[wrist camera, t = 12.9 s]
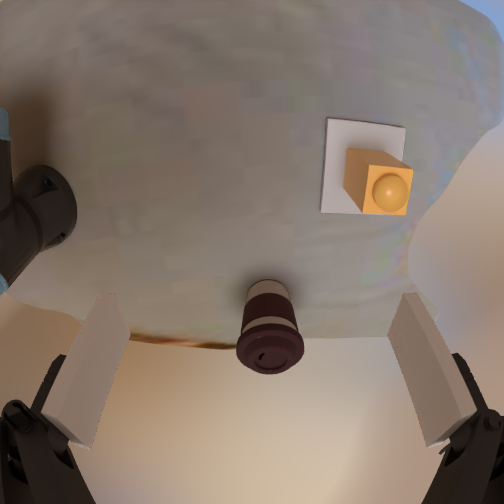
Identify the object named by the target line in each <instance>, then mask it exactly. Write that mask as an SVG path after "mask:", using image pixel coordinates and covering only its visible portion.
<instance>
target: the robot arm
mask: <svg viewBox="0 0 504 504" xmlns="http://www.w3.org/2000/svg"><path fill="white" fill-rule="evenodd" d="M10 141H11V137H10V135H9V116H8V113H7V111H6V110H5V109H3V108H0V296H1V295H2V294H3V293H4V292H6V291H7V290H8V288H9V287H10V286H11V284H12V283H13V282H14V281H15V280H16V278H17V277H18V276H19V275H20V274H21V272H22V271H23V270H24V269H25V268H26V267H27V265H28V264H29V263H30V262H31V261H32V260H33V259H34V257H35V256H36V255H37V254H38V253H39V252H42V251H44V250H47V249H49V248H52V247H54V246H57V245H59V244H60V243H62V242H63V241H64V240H65V239H66V238H67V237H68V236H69V235H70V234H71V233H72V231H73V229H74V227H75V224H76V218H77V209H76V202H75V199H74V196H73V193H72V191H71V189H70V187H69V185H68V183H67V182H66V181H65V179H64V178H63V177H62V176H61V175H60V174H59V173H58V172H57V171H55V170H54V169H52V168H50V167H47V166H43V165H38V166H33V167H31V168H29V169H27V170H26V171H24V172H22V173H21V174H20V175H19V176H18V177H17V178H16V180H15V181H14V182H13V181H12V170H11V153H10ZM387 335H388V337H389V340H390V342H391V345H392V347H393V350H394V353H395V355H396V358H397V360H398V363H399V365H400V368H401V371H402V374H403V376H404V379H405V382H406V384H407V387H408V390H409V393H410V396H411V399H412V402H413V405H414V408H415V410H416V414H417V417H418V420H419V423H420V426H421V429H422V433H423V436H424V440H425V443H426V446H427V448H429V447H432V446H435V445H439V444H442V443H443V442H444V441H445V440H446V439H447V438H449V439H450V443H449V444H448V445H446V446H445V447H444V448H443V449H442V450H441V451H440V452H439V454H440V455H441V454H442V453H443V452H444V451H445V454H444V456H443V459H442V461H441V464H440V466H439V468H438V471H437V473H436V475H435V477H434V479H433V481H432V484H431V486H430V488H429V490H428V492H427V494H426V496H425V498H424V500H423V502H422V503H421V504H504V416H500V414H499V413H498V412H496V411H495V410H491V409H488V407H487V405H486V403H485V401H484V398H483V396H482V394H481V392H480V390H479V387H478V385H477V383H476V381H475V380H474V377H473V375H472V373H471V372H470V369H469V367H468V365H467V363H466V361H465V360H464V359H463V358H462V357H461V356H460V355H459V354H458V353H455V354H451V353H450V351H449V349H448V347H447V345H446V343H445V341H444V339H443V338H442V336H441V334H440V332H439V330H438V328H437V326H436V325H435V323H434V321H433V319H432V318H431V316H430V314H429V312H428V311H427V309H426V307H425V305H424V304H423V302H422V300H421V299H420V297H419V295H418V294H417V292H414V293H403V295H402V298H401V301H400V304H399V306H398V309H397V312H396V314H395V317H394V319H393V322H392V324H391V327H390V329H389V332H388V334H387ZM129 338H130V332H129V329H128V327H127V324H126V322H125V319H124V316H123V313H122V311H121V308H120V305H119V302H118V299H117V296H116V293H103V292H101V294H100V296H99V298H98V299H97V301H96V303H95V304H94V306H93V308H92V310H91V311H90V313H89V315H88V317H87V319H86V320H85V322H84V324H83V326H82V328H81V330H80V331H79V333H78V335H77V337H76V339H75V341H74V343H73V345H72V347H71V348H70V351H69V353H68V354H67V356H66V355H61V354H60V355H59V356H58V357H57V358H56V359H55V360H54V361H53V362H52V364H51V366H50V368H49V370H48V372H47V373H48V374H46V376H45V378H44V382H42V384H41V386H40V388H39V391H38V393H37V395H36V397H35V399H34V401H33V404H32V406H31V408H30V409H29V408H28V407H27V406H26V405H25V404H24V403H23V402H22V401H20V400H12V401H10V402H8V403H7V404H6V405H5V407H4V408H3V411H2V418H1V417H0V504H96V503H95V501H94V499H93V497H92V495H91V493H90V491H89V490H88V487H87V485H86V483H85V481H84V479H83V477H82V475H81V473H80V471H79V468H78V466H77V464H76V461H75V459H74V457H73V454H72V452H71V450H70V448H69V446H68V445H67V444H68V441H69V440H70V441H71V442H73V443H74V444H75V445H77V446H80V447H83V448H86V449H90V450H91V448H92V445H93V441H94V438H95V435H96V432H97V428H98V425H99V422H100V418H101V416H102V412H103V409H104V406H105V403H106V400H107V397H108V394H109V392H110V389H111V386H112V383H113V380H114V377H115V374H116V372H117V369H118V366H119V364H120V361H121V358H122V356H123V353H124V350H125V348H126V345H127V342H128V340H129Z"/></svg>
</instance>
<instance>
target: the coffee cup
mask: <svg viewBox="0 0 504 504" xmlns="http://www.w3.org/2000/svg"><path fill="white" fill-rule="evenodd" d="M236 354H237V357H238V359H239V360H240V362H241V363H242V364H243V365H245V366H247V367H248V368H250V369H252V370H254V371H256V372H258V373H261V374H278V373H281V372H284V371H286V370H288V369H289V368H290V367H292V366H293V365H295V364H296V363H297V362H298V361H299V360H300V359H301V358H302V356H303V354H304V342H303V339H302V336H301V335H300V333H299V332H298V327H297V323H296V318H295V314H294V310H293V307H292V304H291V302H290V299H289V295H288V292H287V290H286V288H285V287H284V286H283V285H282V284H280V283H279V282H276V281H272V280H265V281H261V282H258V283H256V284H255V285H253V286H252V287H251V288H250V290H249V292H248V295H247V302H246V305H245V308H244V314H243V321H242V328H241V336H240V337H239V339H238V341H237V348H236Z"/></svg>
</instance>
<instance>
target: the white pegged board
mask: <svg viewBox="0 0 504 504" xmlns="http://www.w3.org/2000/svg"><path fill="white" fill-rule="evenodd" d="M405 132H406V128H403V127H397V126H391V125H384V124H377V123H370V122H361V121H353V120H343V119H332V118H326V135H325V151H324V165H323V178H322V190H321V201H320V212H321V213H352V214H369V213H362V212H361V211H360V209H359V208H358V207H357V205H356V204H355V203H354V201H353V200H352V199H351V197H350V196H349V195H348V194H347V192H346V191H345V190H344V188H343V183H344V174H345V164H346V153H347V148H354V149H365V150H374V151H383V152H387V153H388V154H390V155H391V156H393V157H395V158H396V159H398V160H400V161H401V162H402V156H403V149H404V141H405ZM378 215H392V214H378Z"/></svg>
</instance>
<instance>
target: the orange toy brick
mask: <svg viewBox="0 0 504 504" xmlns="http://www.w3.org/2000/svg"><path fill="white" fill-rule="evenodd" d="M413 171H414V169H412V168H410V167H409V166H407V165H406V164H404V163H403V162H401V161H400V160H398V159H396V158H395V157H393V156H391V155H390V154H388V153H387V152H383V151H374V150H365V149H354V148H347V153H346V164H345V174H344V183H343V188H344V190H345V191H346V192H347V194H348V195H349V196H350V197H351V199H352V200H353V201H354V203H355V204H356V205H357V207H358V208H359V209H360V211H361V212H362V213H369V214H392V215H405V213H406V208H407V204H408V199H409V194H410V188H411V183H412V177H413Z"/></svg>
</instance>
